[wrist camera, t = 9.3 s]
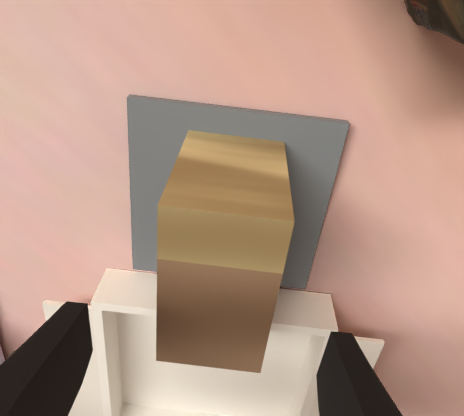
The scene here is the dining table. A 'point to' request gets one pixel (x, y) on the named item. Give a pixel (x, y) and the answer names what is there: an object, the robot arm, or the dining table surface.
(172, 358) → the walnut block
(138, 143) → the mat
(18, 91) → the dining table surface
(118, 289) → the white tray
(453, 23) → the beverage carton
